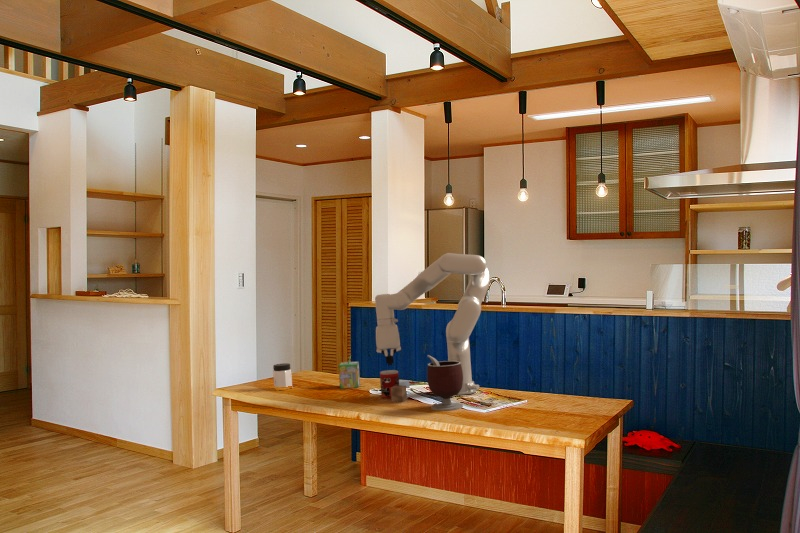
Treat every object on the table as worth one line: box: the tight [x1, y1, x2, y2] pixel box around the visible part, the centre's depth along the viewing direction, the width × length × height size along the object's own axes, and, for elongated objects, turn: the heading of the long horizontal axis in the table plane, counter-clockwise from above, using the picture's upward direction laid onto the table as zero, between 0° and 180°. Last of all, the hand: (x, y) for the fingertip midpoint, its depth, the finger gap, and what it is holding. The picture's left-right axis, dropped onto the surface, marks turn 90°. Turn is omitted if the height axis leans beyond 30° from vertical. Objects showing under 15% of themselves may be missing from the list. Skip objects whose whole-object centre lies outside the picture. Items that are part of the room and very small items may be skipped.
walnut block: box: [390, 386, 408, 403], centre depth 279 cm, size 5×5×6 cm
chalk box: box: [338, 355, 361, 390], centre depth 321 cm, size 9×9×15 cm
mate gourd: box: [426, 354, 464, 412], centre depth 260 cm, size 16×14×20 cm
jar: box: [272, 362, 293, 387], centre depth 328 cm, size 9×8×12 cm
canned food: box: [379, 369, 400, 400], centre depth 289 cm, size 8×8×11 cm
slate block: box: [399, 379, 411, 388], centre depth 299 cm, size 6×6×5 cm
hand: (390, 364), depth 289 cm, fingers closed
